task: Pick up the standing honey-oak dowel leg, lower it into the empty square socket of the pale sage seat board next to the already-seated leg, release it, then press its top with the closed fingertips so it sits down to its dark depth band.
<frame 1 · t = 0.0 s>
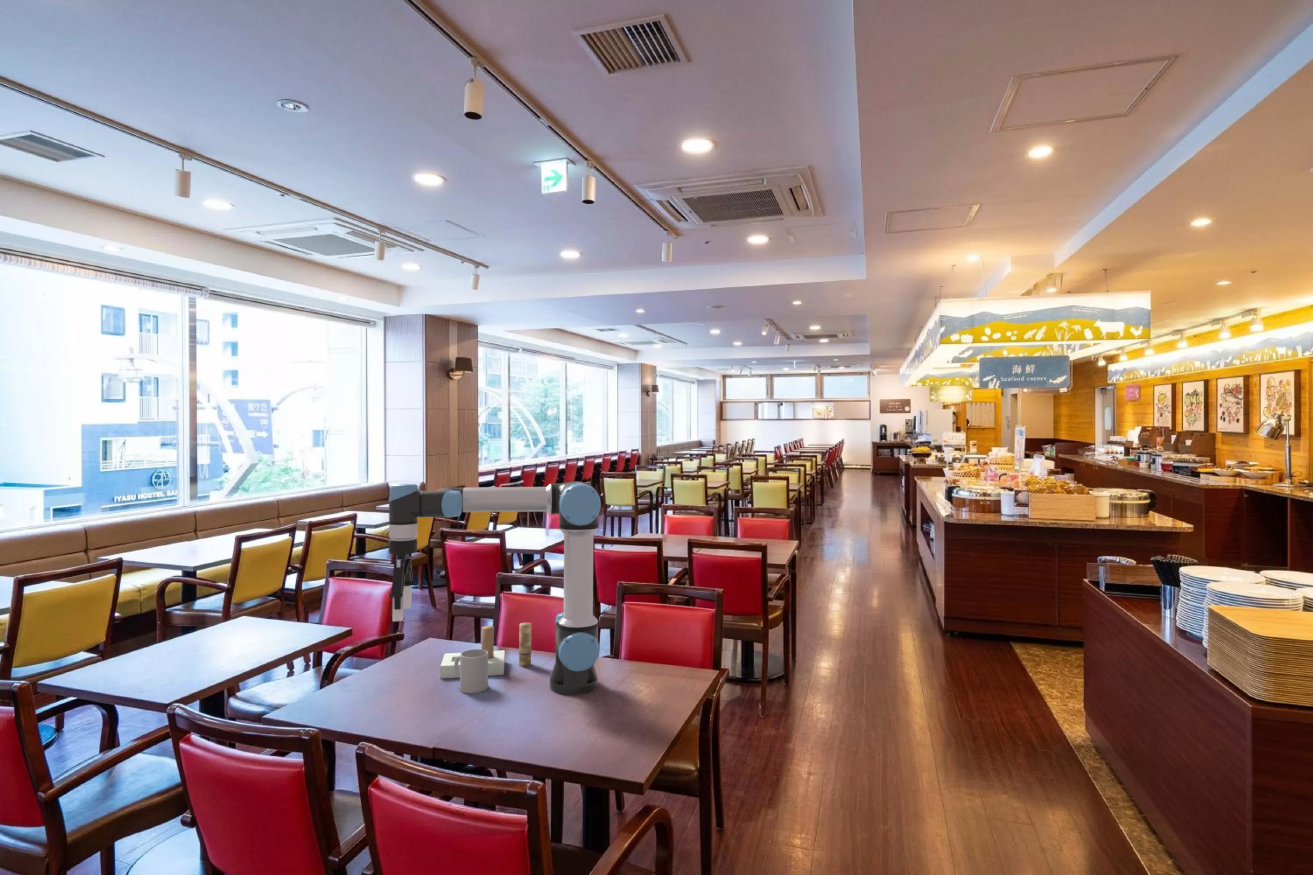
hand: (402, 614, 187), 28 cm above the table, fingers open, 13 cm apart
seat board: (473, 669, 223), on the table
mug: (469, 688, 207), on the table
oak leg: (525, 664, 229), on the table
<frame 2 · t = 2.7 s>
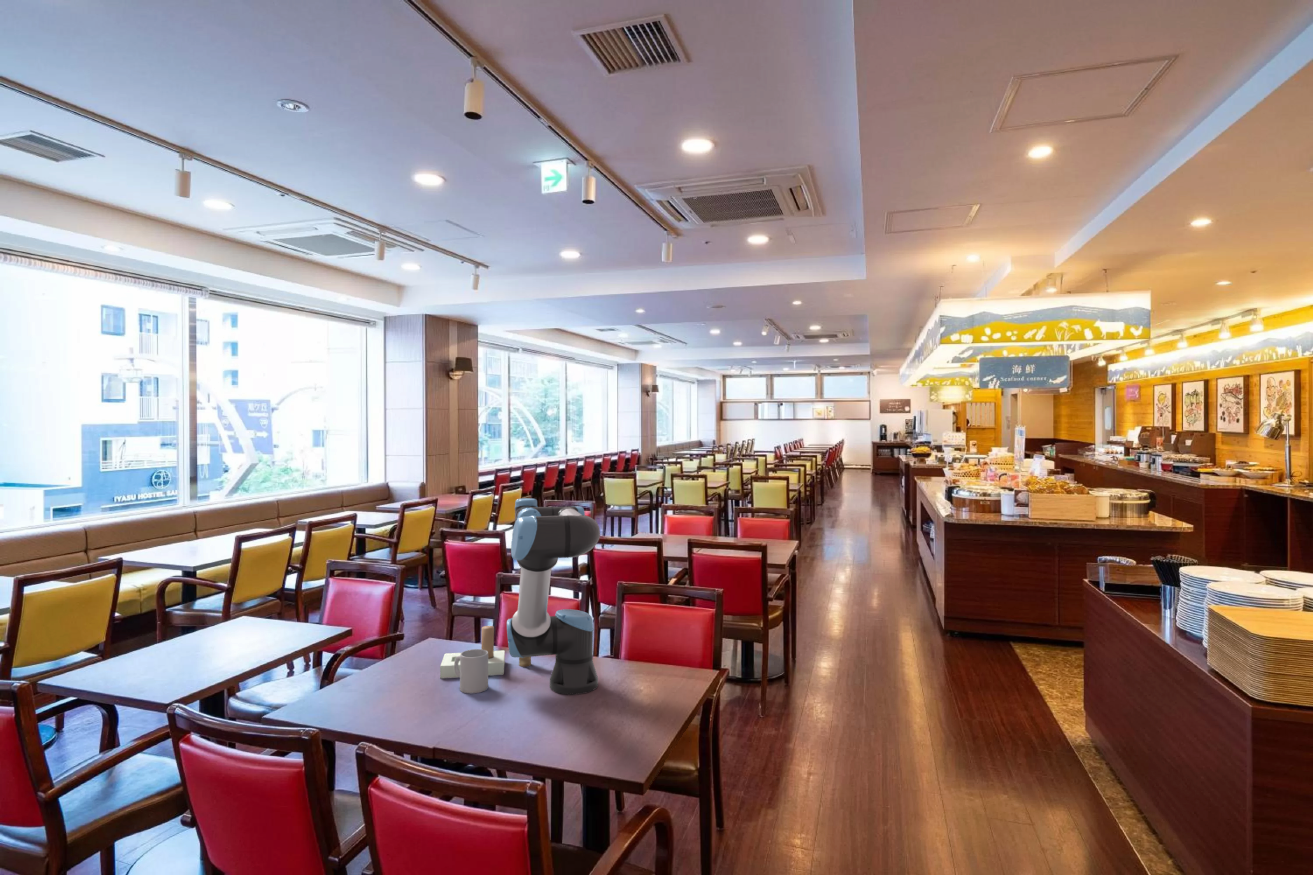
hand: (525, 605, 229), 20 cm above the table, fingers open, 13 cm apart
nothing on the table moved.
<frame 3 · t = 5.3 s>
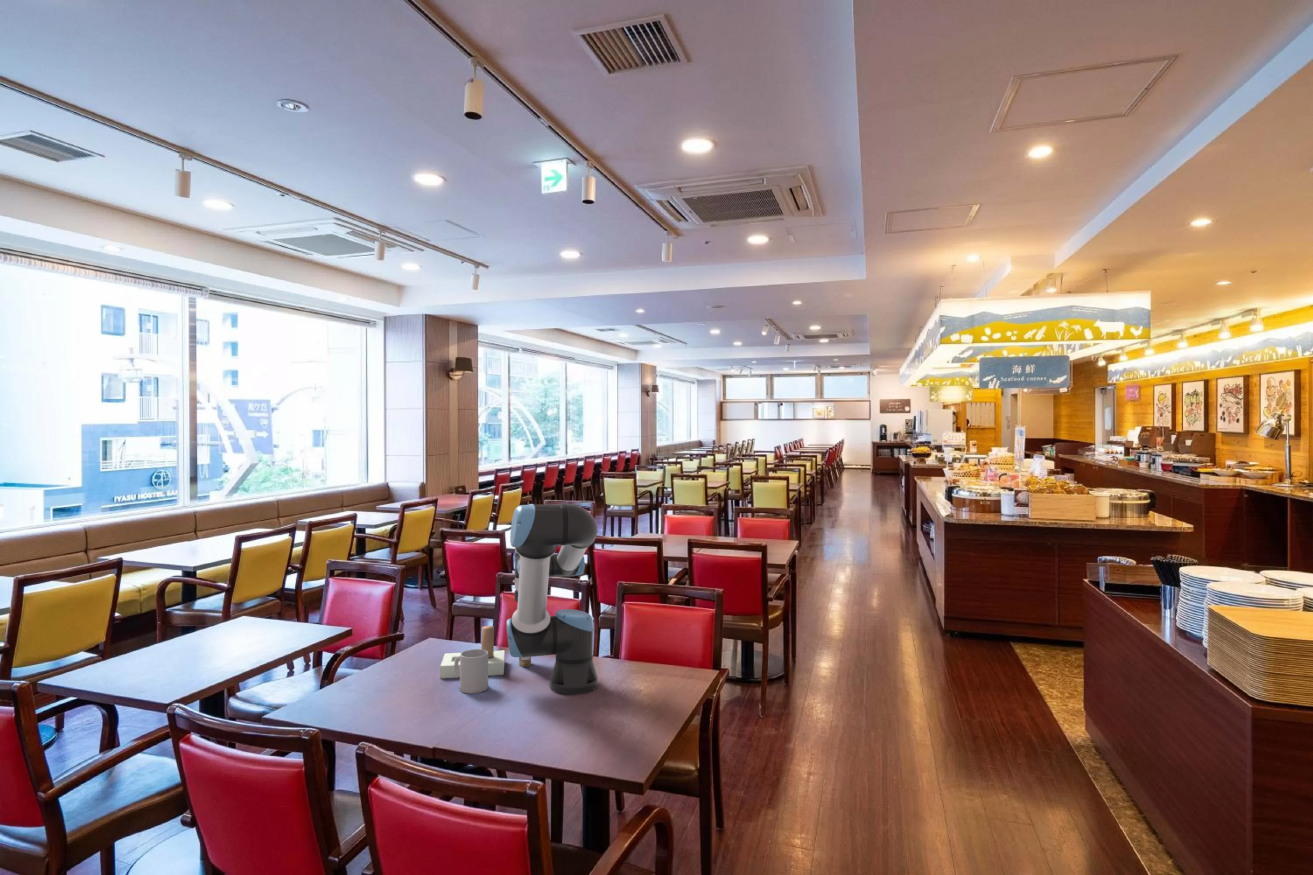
hand: (525, 657, 229), 3 cm above the table, fingers closed on oak leg, 4 cm apart
oak leg: (525, 664, 229), on the table, touching gripper
everything else where it was.
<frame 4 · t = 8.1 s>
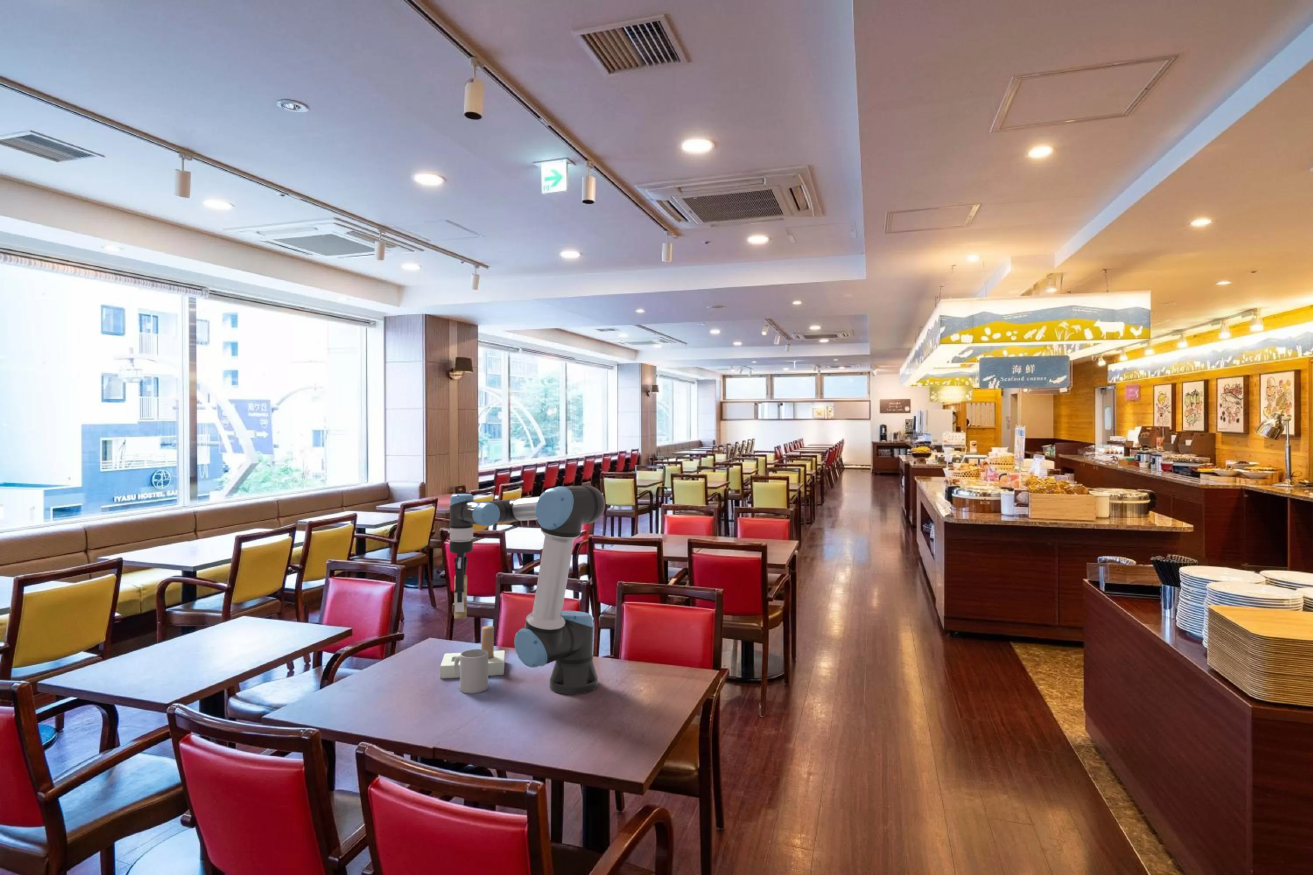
hand: (460, 609, 223), 20 cm above the table, fingers closed on oak leg, 4 cm apart
oak leg: (460, 617, 223), point 18 cm above the table, touching gripper
everything else where it was.
when the fingers open (5 cm above the table, at t = 10.8 s): oak leg drops 3 cm, resting in seat board.
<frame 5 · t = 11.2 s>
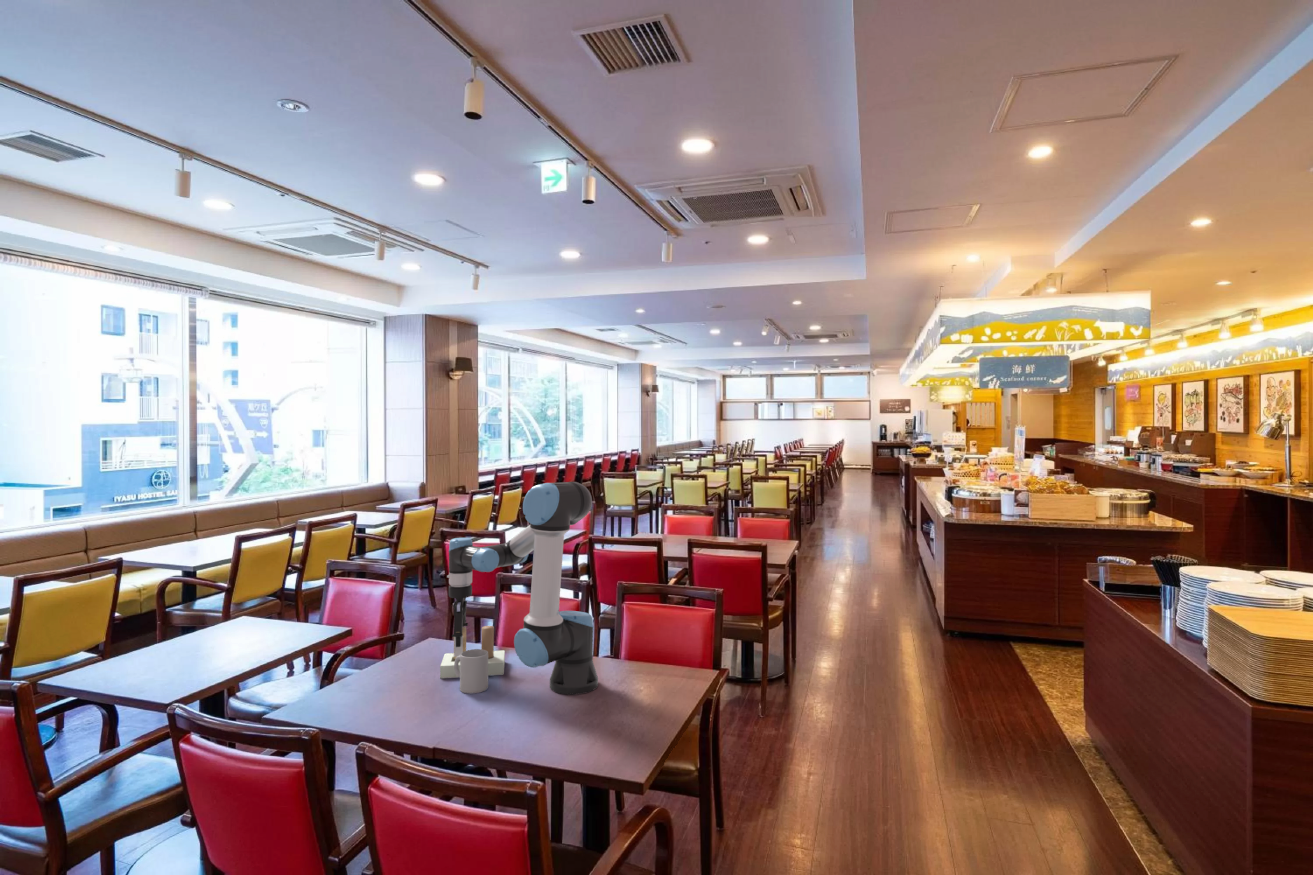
hand: (459, 650, 223), 7 cm above the table, fingers open, 10 cm apart
oak leg: (459, 670, 223), resting in seat board
everything else where it was.
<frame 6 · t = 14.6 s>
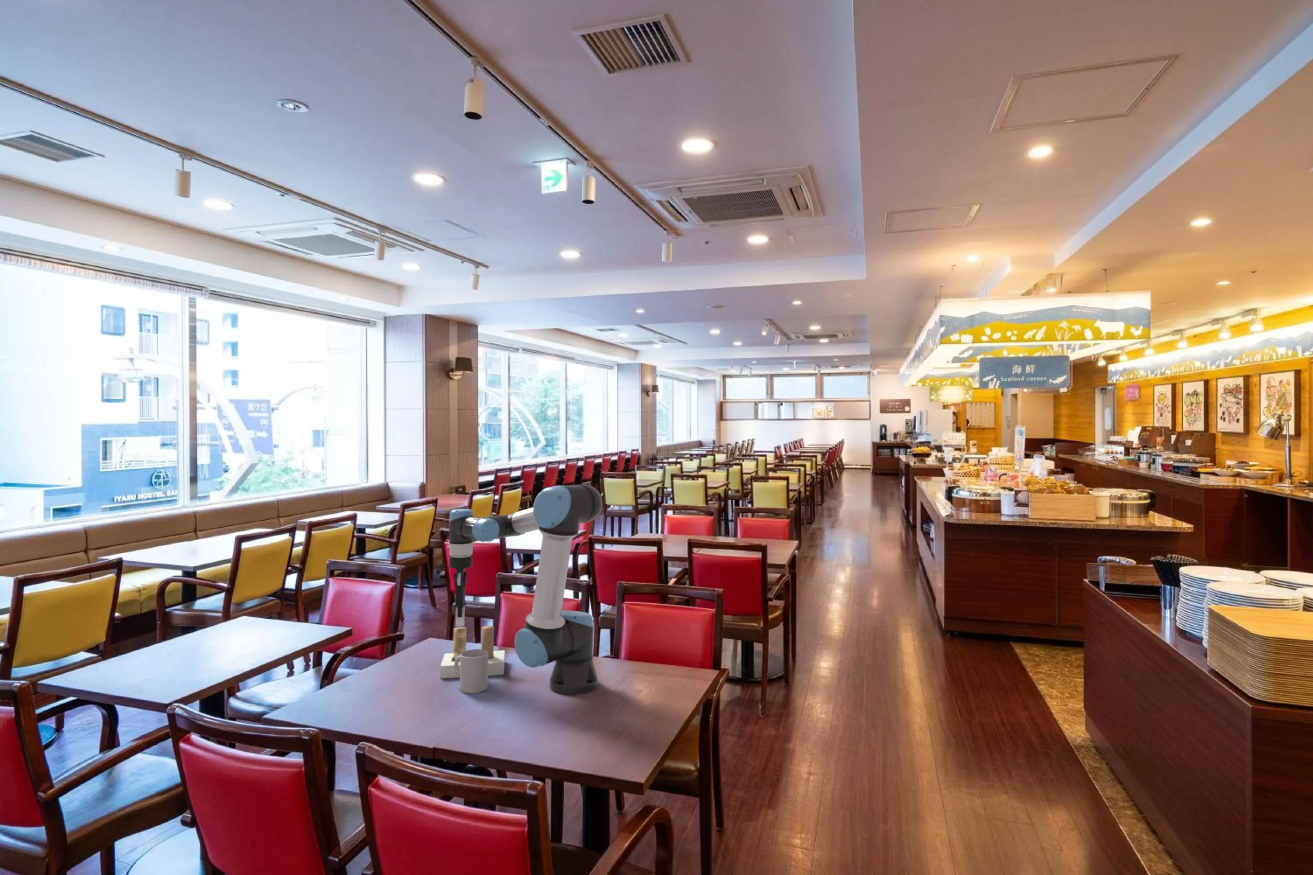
hand: (460, 625, 223), 15 cm above the table, fingers closed
nothing on the table moved.
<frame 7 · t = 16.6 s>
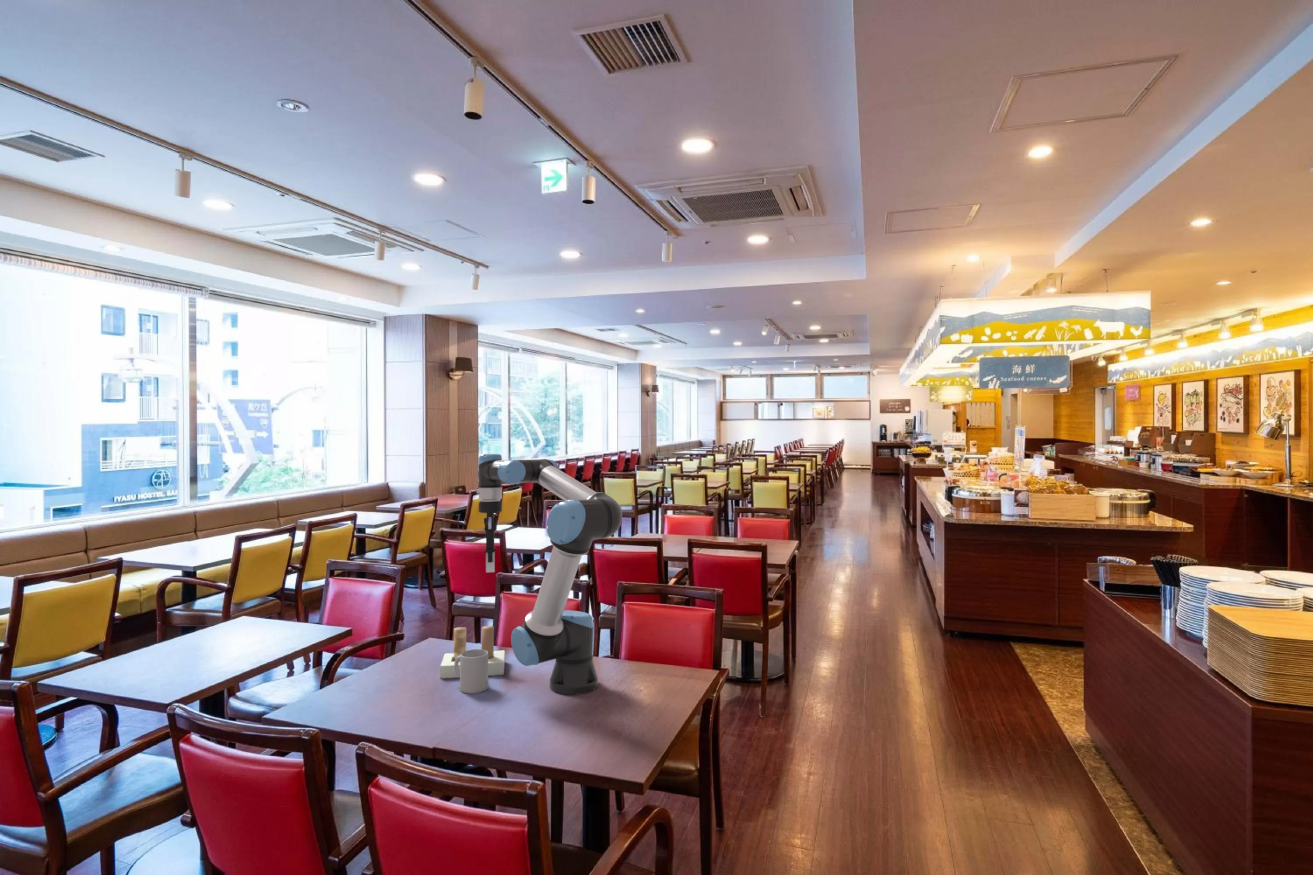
hand: (490, 571, 220), 34 cm above the table, fingers closed
nothing on the table moved.
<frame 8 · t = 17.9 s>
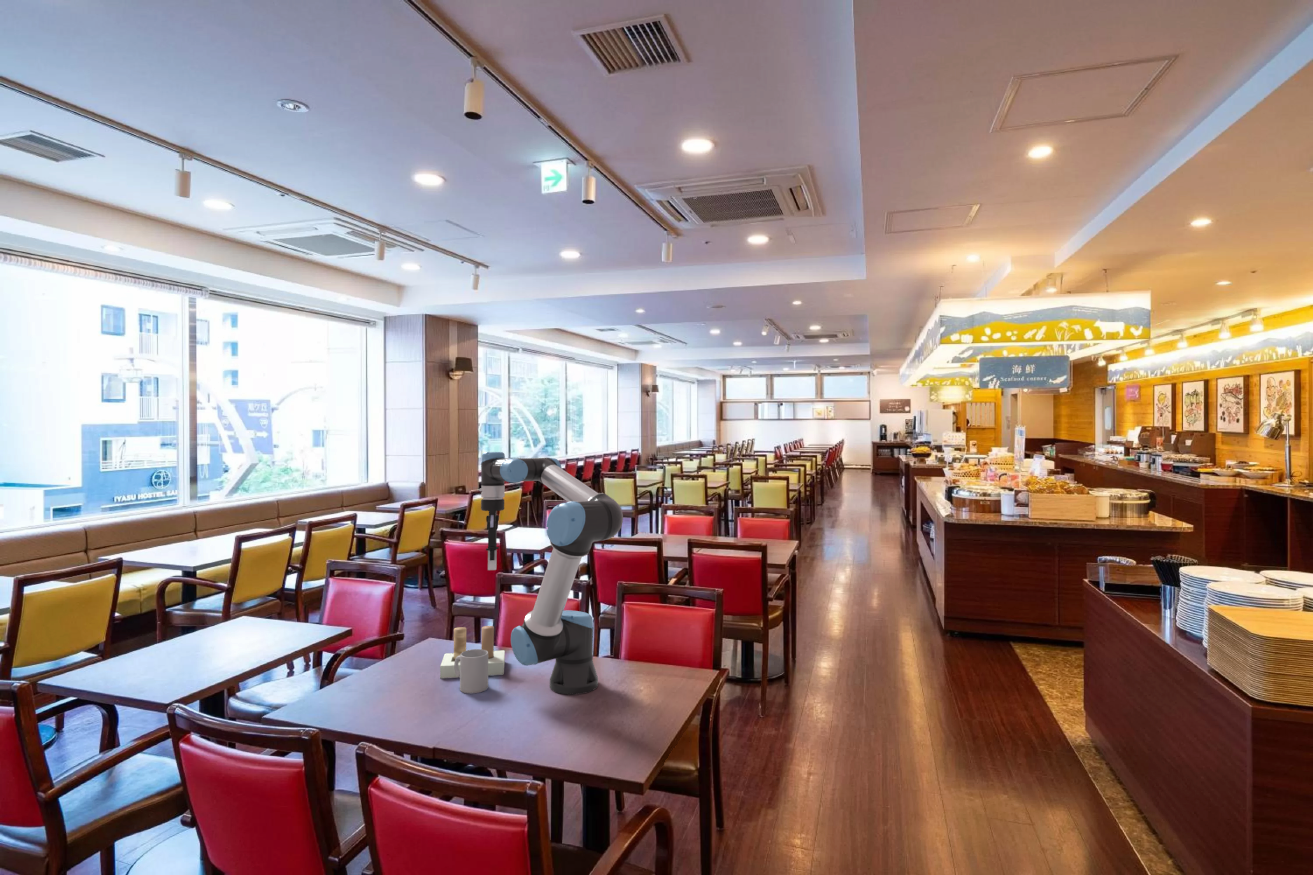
hand: (492, 569, 220), 34 cm above the table, fingers closed
nothing on the table moved.
at the end: oak leg 0.0 cm from the target spot on the seat board, point 0.0 cm above the seat board's base; oak leg tilted 0°; the gripper is holding nothing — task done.
